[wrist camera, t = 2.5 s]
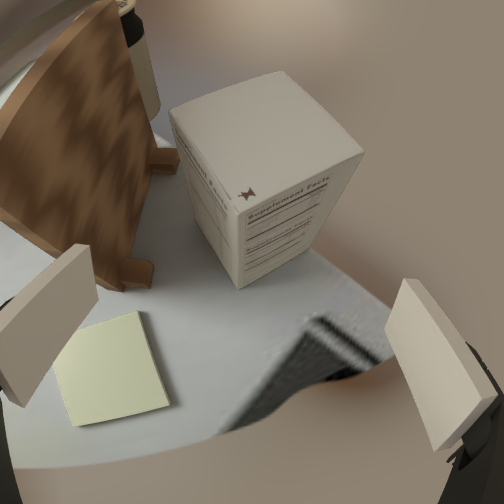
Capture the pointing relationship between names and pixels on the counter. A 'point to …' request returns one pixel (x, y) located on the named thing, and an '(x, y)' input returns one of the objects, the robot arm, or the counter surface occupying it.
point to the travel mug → (139, 56)
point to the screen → (82, 150)
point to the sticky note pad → (109, 372)
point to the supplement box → (261, 170)
